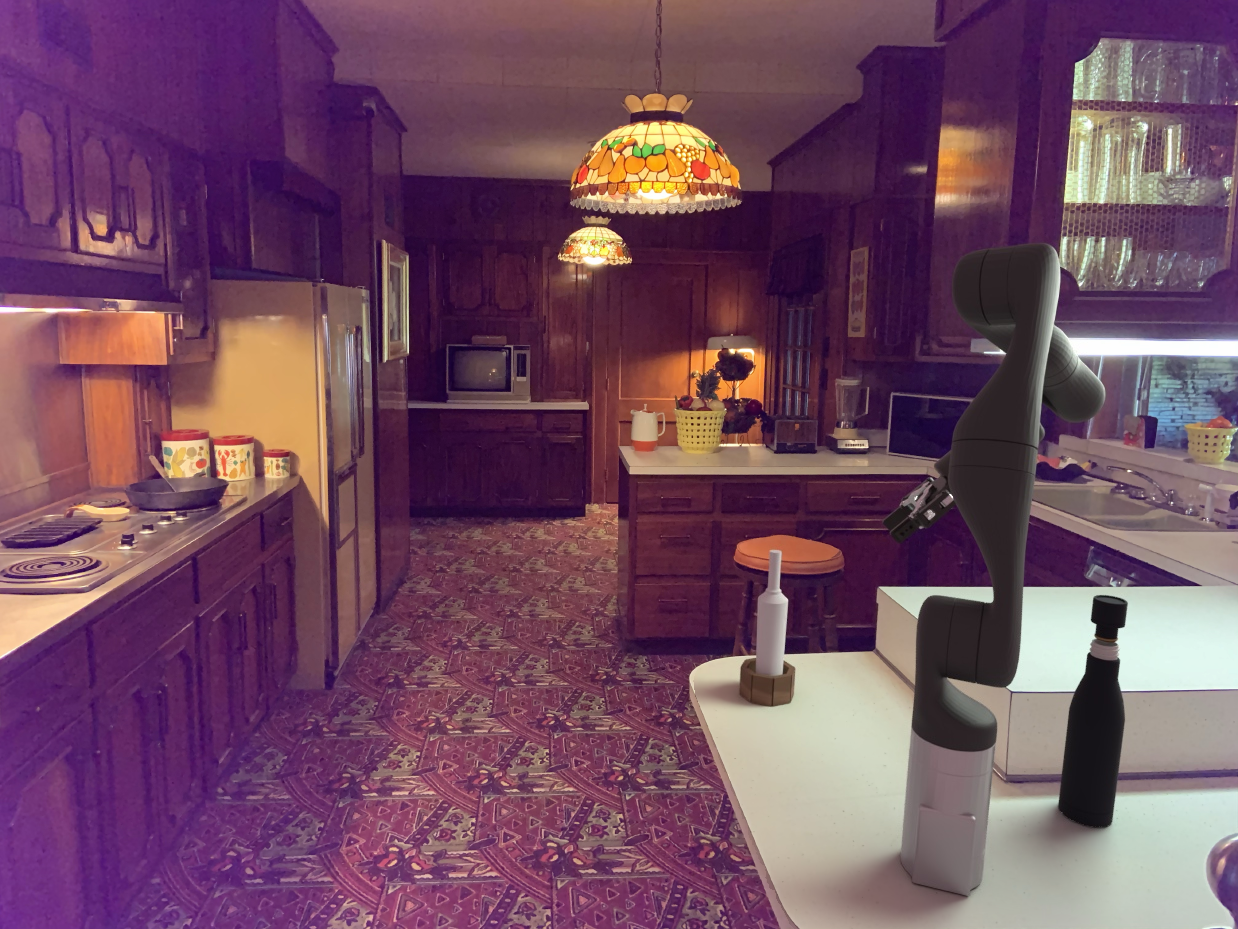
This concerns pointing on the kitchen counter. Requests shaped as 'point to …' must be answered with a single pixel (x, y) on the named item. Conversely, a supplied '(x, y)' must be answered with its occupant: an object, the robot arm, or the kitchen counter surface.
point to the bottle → (771, 622)
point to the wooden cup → (766, 685)
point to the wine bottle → (1095, 724)
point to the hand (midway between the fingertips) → (889, 532)
